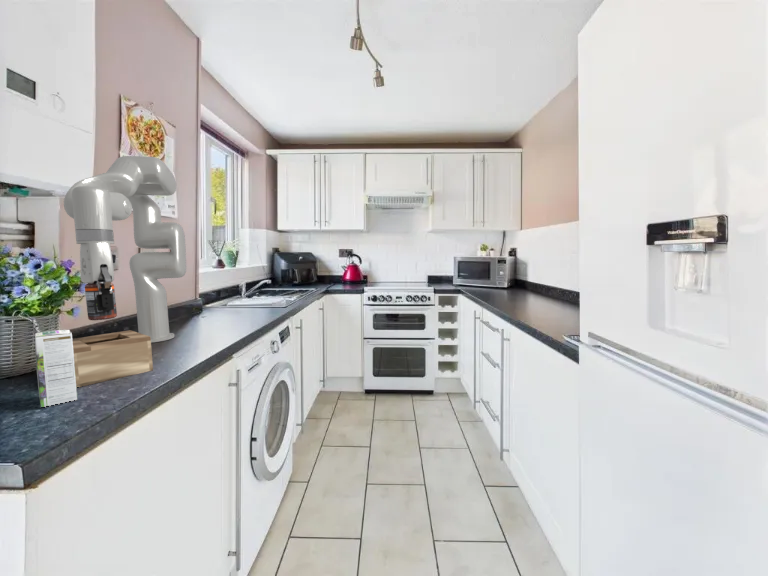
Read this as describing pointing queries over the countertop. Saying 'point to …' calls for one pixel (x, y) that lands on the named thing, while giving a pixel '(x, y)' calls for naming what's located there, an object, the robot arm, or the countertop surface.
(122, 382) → the countertop surface
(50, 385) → the syrup box
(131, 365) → the drop box
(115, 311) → the supplement bottle
